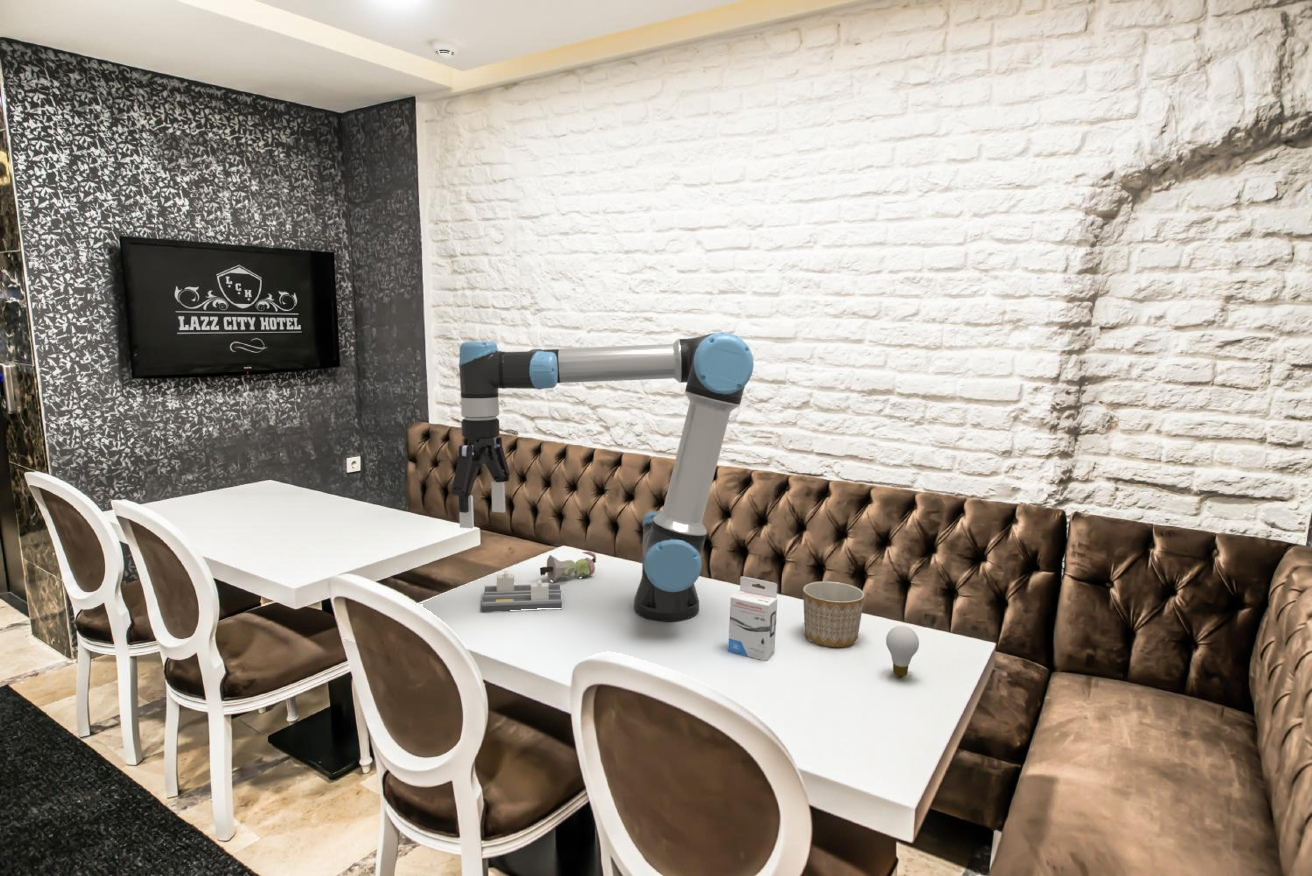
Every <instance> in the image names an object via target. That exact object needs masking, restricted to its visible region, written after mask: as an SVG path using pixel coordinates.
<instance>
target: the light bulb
mask: <svg viewBox="0 0 1312 876" xmlns="http://www.w3.org/2000/svg"><path fill="white" fill-rule="evenodd" d="M885 643H886V644H885V645H886V647H887V649H888V651H889V654H890V657H891V660H892V674H894V675H895V676H896V677H897V678H900V679H902V678H905V676H907V675H908V672H909V665H910V663H911V660H912V658H913V657H914V655H915V654H916V653H917V652H918V650H919V647H920V640H919V637H918V635H917V633H916V632H915V630H914V629H912V628H911V627H909V626H906V625H897V626H894V627H893V628H891V629H890V630H889V631H888V633H887V635H886V637H885Z"/></svg>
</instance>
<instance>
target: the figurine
mask: <svg viewBox="0 0 1312 876" xmlns="http://www.w3.org/2000/svg"><path fill="white" fill-rule="evenodd" d="M582 554H585V555H588V556H591V557H592V558H589V557H585V558H582V559H581V558H580V559H578V560H576V561H574V560H572V559H567V560H559V559H557V558H556V557H554V556H552V555H551V554H549V556H548V558H547V560H546V566H542V567H539V573H540V576H545V575H547V579H548V578H549V579H550V580H552V581H553V583H554V582H556V581H557V580H558V579H559V578H560V577H571V576H573V575H574V576H575V577H577V576H578V578H579V577H582V576H585V577H584V578H586V577H588V576H591V575H593V574H594V573H595V571H596V567H595V563H596V562H597V557H596V553H594V552H592V551H583V552H582ZM588 574H589V575H588ZM582 578H583V577H582ZM555 580H556V581H555Z"/></svg>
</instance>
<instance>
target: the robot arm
mask: <svg viewBox="0 0 1312 876" xmlns="http://www.w3.org/2000/svg"><path fill="white" fill-rule="evenodd" d="M458 361H459V363H458V367H459V382H460V384H459V386H460V387H459V388H460V402H459V404H460V406H461V407H460V408H461V409H460V410H461V411H460V413H461V414H460V416H461V417H462V418H463V419H461V436H462V438H464V439H467V445H461V444H460V445H459V447H458V458H457V463H456V468H455V472H454V476H453V481H452V486H451V492H450V493H451V495H453V496H454V497H458V512H459V528H463V529H474V528H475V521H474V496H473V494H472V495H471V493H472V490H473V487H474V484H475V481H476V479H477V475H478V473H479V470H480V468H482V467H483V465H484V464H485V466H486V468H487V470H488V472H489V474H490V476H491V477H492V479H493V481H491V509H492V513H502V514H503V513H505V512H506V491H505V489H506V488H505V485H506V483H505V482H507V483H508V482H510V475H511V474H510V473H511V472H510V469H509V466H508V462H507V458H506V455H505V452H504V447H503V439H502V437H501V436H500V419H499V418H498V417H499V415H500V404H499V389H502V390H503V389H518V390H519V389H523V390H524V389H525V390H526V389H528V390H529V389H531V390H532V389H533V390H535V389H537V390H544V389H554V388H555V387H556V386H557V384H567V383H568V384H569V383H592V382H595V383H596V382H616V381H640V380H641V381H642V380H643V381H645V380H647V381H648V380H665V379H666V380H667V379H674V380H676V382H678V383H681V384H682V383H686V386H685V389H684V390H685V391H684V393H685V396H686V397H687V398H688V401H689V405H688V408H687V411H686V413H687V414H686V415H685V416H686V417H685V420H684V424H683V428H682V432H681V436H680V440H679V444H678V448H677V452H676V456H675V461H674V464H673V468H672V472H671V476H670V480H669V483H668V488H667V493H666V497H665V500H664V505H663V508H662V510H659V511H657V510H655V511H650V512H647V513H645V514H644V516H643V521H642V525H641V526H642V563H641V564H642V565H641V566H642V567H641V568H642V569H641V574H642V575H641V579H640V582H639V584H638V588H637V591H636V593H635V596H634V599H633V610H634V612H635V613H636V614H637V615H639V616H641V617H643V618H645V619H649V620H654V621H660V622H677V621H683V620H688V619H691V618H693V617H695V616H696V615H698V614H699V611H700V599H699V596H698V593H697V589H696V586H695V583H696V581H697V580H698V579H699V577H700V574H701V571H702V568H703V567H702V563H703V561H702V554H703V549H704V545H705V541H706V537H707V533H708V530H707V529H706V527H705V525H704V524H703V523H704V522H703V520H704V515H705V512H706V508H707V505H708V501H709V498H710V492H711V489H712V485H713V481H714V477H715V473H716V469H717V465H718V462H719V457H720V454H721V450H722V446H723V443H724V437H725V435H726V431H727V426H728V423H729V421H730V416H731V412H732V411H734V410H735V409H737V408H738V407H740V405H741V402H742V397H743V395H744V391H745V388H746V386H747V384H748V383H749V381H750V380H751V377H752V375H753V372H754V356H753V354H752V351H751V349H750V347H749V346H748V344H747V342H746V341H744V340H743V339H742V338H740V337H739V336H738V335H736V334H732V333H727V332H722V331H721V332H715V333H714V332H713V333H708V334H706V335H705V334H704V335H701V336H696V337H691V338H689V337H688V338H678V339H676V340H675V341H674V342H673V343H666V344H665V343H662V344H660V343H659V344H642V345H639V344H638V345H637V344H636V345H619V346H618V345H617V346H594V347H571V348H556V349H555V348H551V349H550V348H548V349H542V348H534V349H530V350H526V351H501V350H499V349H498V344H497V343H496V342H495V341H463V342H462V343H461V344H460V346H459V360H458Z"/></svg>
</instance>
